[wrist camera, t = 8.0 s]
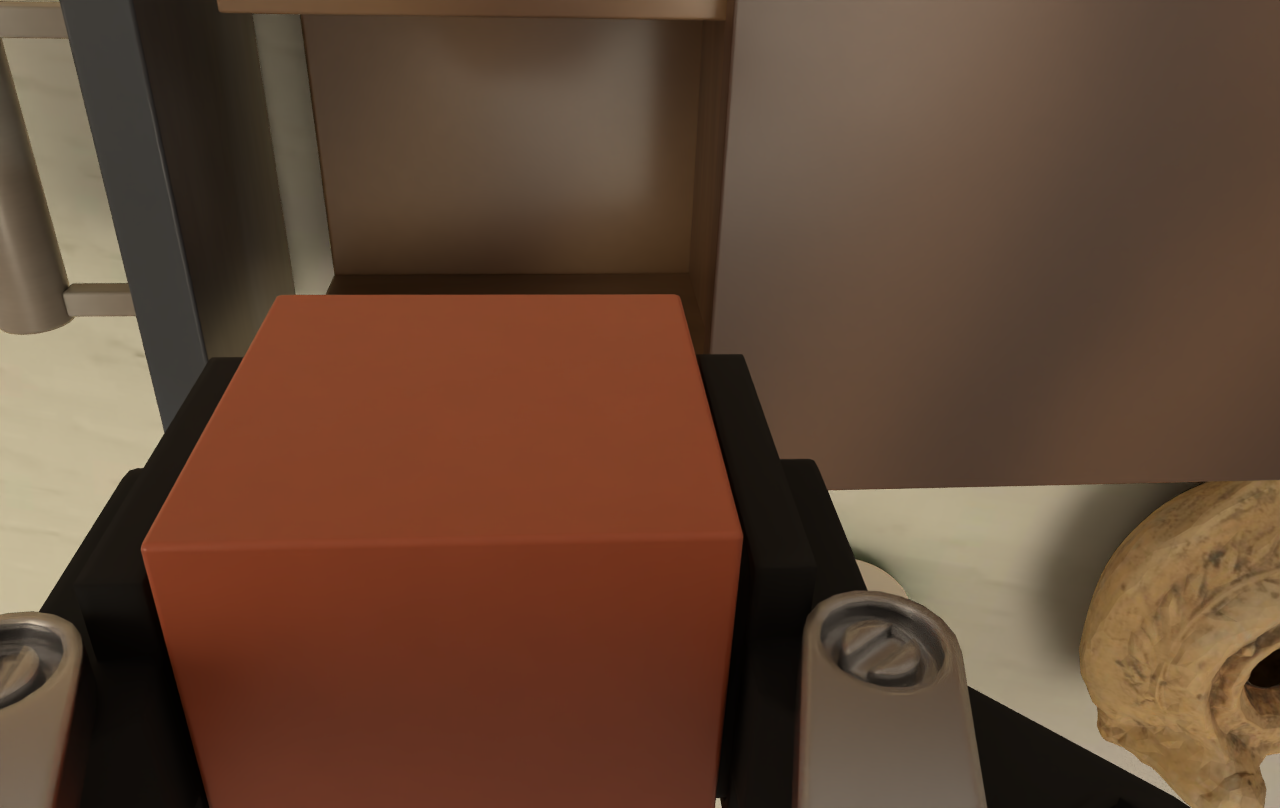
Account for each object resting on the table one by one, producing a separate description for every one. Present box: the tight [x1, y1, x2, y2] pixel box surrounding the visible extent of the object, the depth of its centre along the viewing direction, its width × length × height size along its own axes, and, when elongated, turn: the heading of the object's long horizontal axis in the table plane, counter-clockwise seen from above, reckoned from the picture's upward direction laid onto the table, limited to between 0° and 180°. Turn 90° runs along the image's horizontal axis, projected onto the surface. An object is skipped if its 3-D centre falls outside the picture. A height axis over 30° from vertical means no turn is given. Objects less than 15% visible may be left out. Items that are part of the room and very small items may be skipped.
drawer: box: [0, 0, 727, 432], centre depth 23 cm, size 17×10×7 cm, turn 88°
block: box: [141, 294, 743, 808], centre depth 11 cm, size 4×4×4 cm
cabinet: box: [703, 0, 1280, 490], centre depth 24 cm, size 14×12×9 cm
